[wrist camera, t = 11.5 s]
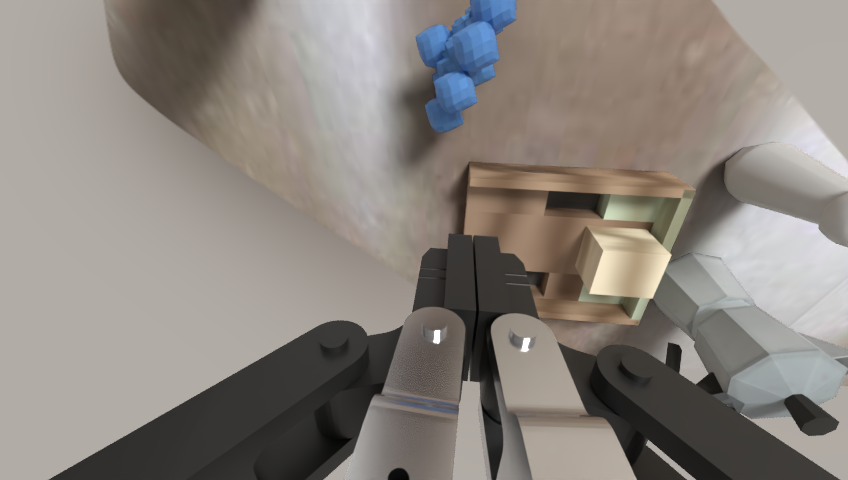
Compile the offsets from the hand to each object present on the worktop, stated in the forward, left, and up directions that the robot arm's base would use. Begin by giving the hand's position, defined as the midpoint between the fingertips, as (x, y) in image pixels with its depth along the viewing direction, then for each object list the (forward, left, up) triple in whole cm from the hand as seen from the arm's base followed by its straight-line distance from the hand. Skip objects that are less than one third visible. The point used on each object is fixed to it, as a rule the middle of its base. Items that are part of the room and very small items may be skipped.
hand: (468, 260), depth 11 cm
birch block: (+16, -13, -24) cm, 32 cm away
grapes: (-1, +5, -27) cm, 28 cm away
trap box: (+11, -13, -27) cm, 32 cm away
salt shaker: (+28, -4, -27) cm, 39 cm away
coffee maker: (+27, -19, -27) cm, 43 cm away
